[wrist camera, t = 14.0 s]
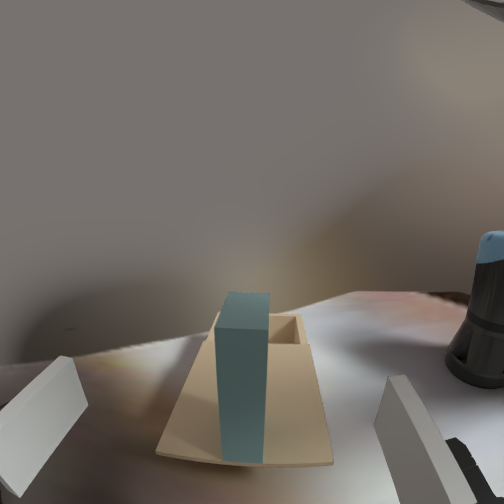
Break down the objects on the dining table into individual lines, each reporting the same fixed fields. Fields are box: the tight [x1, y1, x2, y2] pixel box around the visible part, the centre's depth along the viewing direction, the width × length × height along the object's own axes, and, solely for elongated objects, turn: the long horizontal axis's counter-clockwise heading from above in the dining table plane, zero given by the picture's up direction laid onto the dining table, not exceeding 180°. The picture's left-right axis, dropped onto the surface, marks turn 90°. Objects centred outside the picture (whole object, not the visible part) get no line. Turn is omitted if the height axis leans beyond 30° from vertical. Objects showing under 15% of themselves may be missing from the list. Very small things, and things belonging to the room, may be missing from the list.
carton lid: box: [155, 292, 334, 467], centre depth 27 cm, size 20×14×12 cm
